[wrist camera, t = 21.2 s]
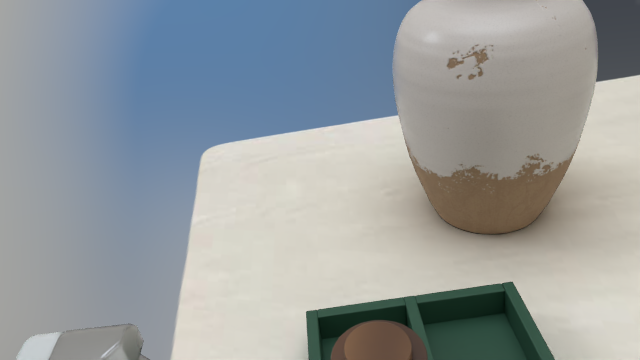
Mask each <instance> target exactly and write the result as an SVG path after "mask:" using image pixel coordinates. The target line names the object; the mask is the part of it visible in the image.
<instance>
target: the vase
mask: <svg viewBox="0 0 640 360" xmlns="http://www.w3.org/2000/svg"><path fill="white" fill-rule="evenodd" d="M597 66H598V44H597V34H596V29H595V24H594V21H593V18H592V16H591V13H590V11H589V9H588V8H587V6H586V5H585V3H584V2H583V1H582V0H422V1H421V2H419V3H418V4H417V5H415V6H414V7H413V8H412V9H410V11H409V12H408V13H407V14H406V16H405V18H404V19H403V21H402V24H401V26H400V28H399V31H398V34H397V37H396V42H395V47H394V54H393V83H394V92H395V100H396V105H397V110H398V115H399V119H400V123H401V128H402V132H403V135H404V139H405V143H406V146H407V149H408V152H409V155H410V158H411V161H412V163H413V166H414V169H415V171H416V173H417V176H418V178H419V180H420V182H421V184H422V186H423V188H424V190H425V192H426V194H427V196H428V198H429V200H430V202H431V204H432V205H433V207H434V208H435V210H436V211H437V212H438V214H439V215H440V216H441V218H443V219H444V220H445V221H446V222H448V223H449V224H451V225H453V226H455V227H457V228H459V229H462V230H465V231H469V232H474V233H481V234H501V233H508V232H512V231H516V230H519V229H521V228H524V227H526V226H527V225H529V224H531V223H532V222H533V221H534V220H535V219H536V218H537V217H538V216H539V215H540V214H541V212H542V211H543V210H544V208H545V207H546V206H547V204H548V203H549V201H550V199H551V198H552V196H553V194H554V193H555V191H556V189H557V188H558V186H559V184H560V182H561V181H562V179H563V177H564V175H565V173H566V171H567V169H568V167H569V165H570V162H571V160H572V158H573V156H574V153H575V151H576V148H577V146H578V143H579V140H580V137H581V134H582V131H583V128H584V125H585V122H586V119H587V116H588V112H589V109H590V105H591V101H592V98H593V94H594V88H595V83H596V77H597Z"/></svg>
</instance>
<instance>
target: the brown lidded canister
mask: <svg viewBox="0 0 640 360" xmlns="http://www.w3.org/2000/svg"><path fill="white" fill-rule="evenodd" d="M331 360H428V354H427V349H426V347H425V344H424V343H423V341H422V339H421V338H420V337H419V336H418V335H417V334H416V333H415V332H414V331H413V330H412V329H410V328H408V327H407V326H405V325H402V324H400V323H397V322H393V321H387V320H374V321H367V322H364V323H360V324H358V325H355V326H354V327H352V328H350V329H348V330H347V331H346V332H345V333H343V334H342V335H341V336H340V337H339V339H338V340H337V341H336V343H335V345H334V347H333V350H332V353H331Z"/></svg>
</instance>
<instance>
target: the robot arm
mask: <svg viewBox="0 0 640 360" xmlns="http://www.w3.org/2000/svg"><path fill="white" fill-rule="evenodd" d="M143 342H144V340H143V338H142V336H141V334H140V332H139V330H138V327H137V326H136V325H133V324H122V325H113V326H105V327H95V328H86V329H78V330H69V331H66V332H59V333H50V334H39V335H33V336H32V337H31V338H30V339H28V340H27V341H25V343H24V345H23V346H22V348H21V350H20V352H19V354H18V356H17V358H16V359H15V360H150V359H148V358H146V357H145V356H143V355H142V354H140V353H141V349H142V345H143Z"/></svg>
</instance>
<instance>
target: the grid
mask: <svg viewBox="0 0 640 360" xmlns="http://www.w3.org/2000/svg"><path fill="white" fill-rule="evenodd" d="M306 318H307V336H308V354H309V360H331V353H332V350H333V347H334V345H335V343H336V341H337V340H338V339H339V337H340V336H341V335H342V334H343V333H345V332H346V331H347V330H348V329H350V328H352V327H354V326H355V325H358V324H360V323H364V322H367V321H374V320H387V321H393V322H397V323H400V324H402V325H405V326H407V327H408V328H410V329H412V330H413V331H414V332H415V333H416V334H417V335H418V336H419V337H420V338H421V339H422V341H423V343H424V344H425V347H426V349H427V354H428V360H555V359H554V357H553V355H552V354H551V352H550V350H549V348H548V346H547V344H546V342H545V341H544V339H543V337H542V335H541V333H540V331H539V330H538V328H537V326H536V324H535V322H534V320H533V319H532V317H531V315H530V313H529V311H528V309H527V308H526V306H525V304H524V302H523V300H522V298H521V296H520V295H519V293H518V291H517V289H516V287H515V285H514V284H513V282H507V283H502V284H493V285H486V286H479V287H473V288H466V289H459V290H452V291H445V292H438V293H431V294H424V295H417V296H409V297H404V298H403V297H402V298H395V299H388V300H381V301H374V302H367V303H360V304H354V305H347V306H340V307H333V308H326V309H319V310H313V311H307V312H306Z"/></svg>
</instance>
